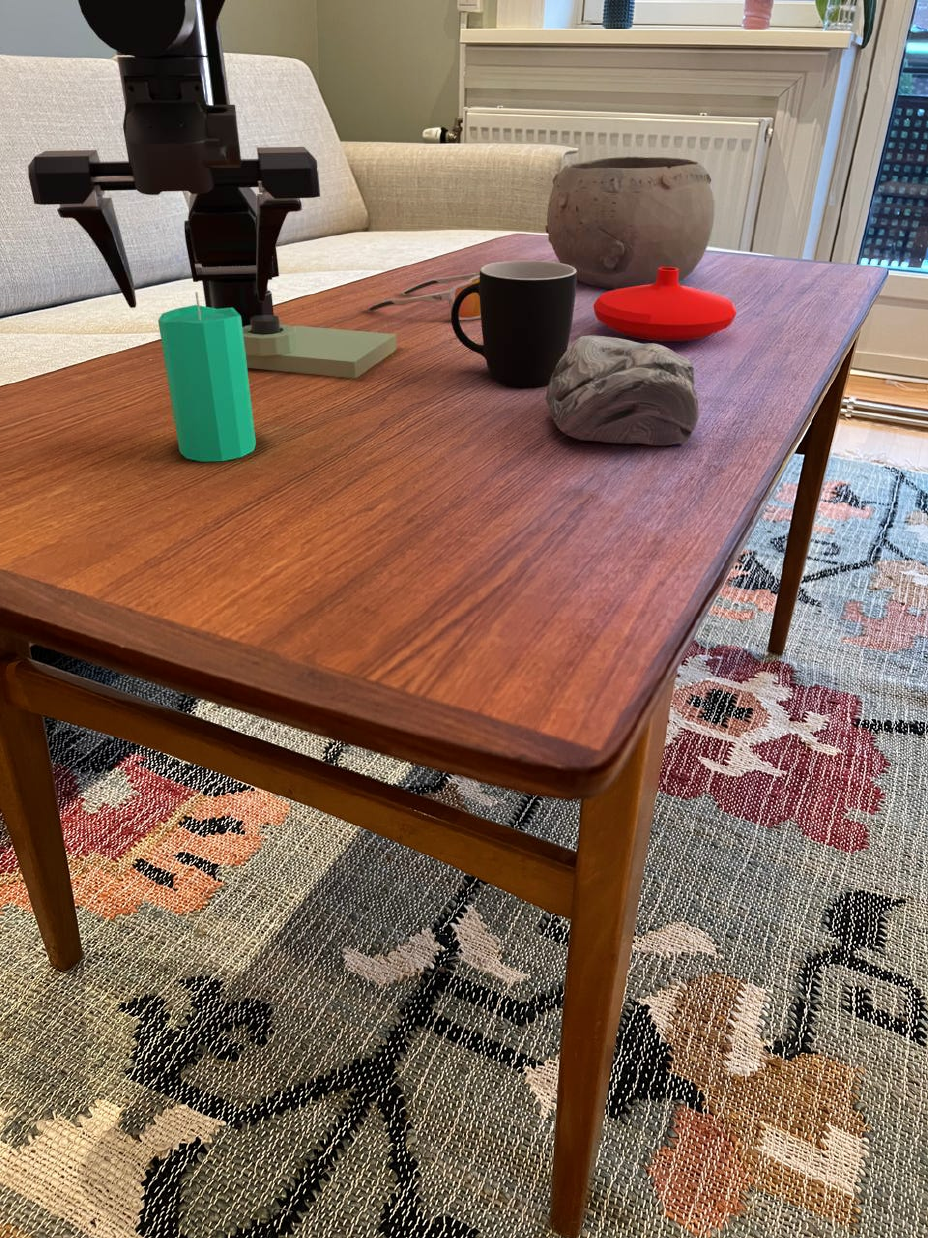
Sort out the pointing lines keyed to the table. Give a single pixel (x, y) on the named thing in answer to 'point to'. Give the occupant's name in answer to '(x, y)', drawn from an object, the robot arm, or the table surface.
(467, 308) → the sunglasses
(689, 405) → the decorative stone
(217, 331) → the candle
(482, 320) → the mug
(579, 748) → the table surface
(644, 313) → the red vase
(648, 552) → the table surface
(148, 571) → the table surface
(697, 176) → the bowl
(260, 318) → the button
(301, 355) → the khaki base plate
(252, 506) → the table surface
